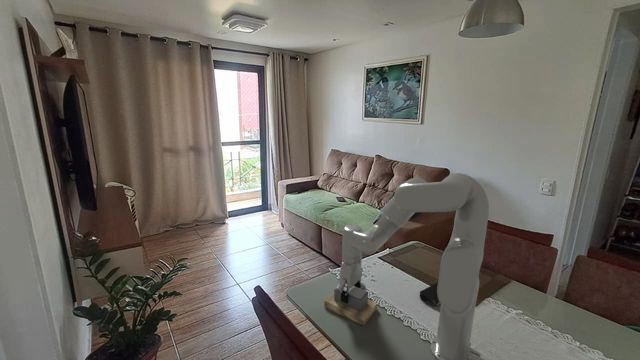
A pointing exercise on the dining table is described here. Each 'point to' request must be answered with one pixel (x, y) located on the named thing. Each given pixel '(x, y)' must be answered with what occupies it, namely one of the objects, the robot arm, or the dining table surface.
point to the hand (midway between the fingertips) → (350, 295)
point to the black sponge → (430, 295)
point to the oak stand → (351, 310)
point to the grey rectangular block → (353, 297)
